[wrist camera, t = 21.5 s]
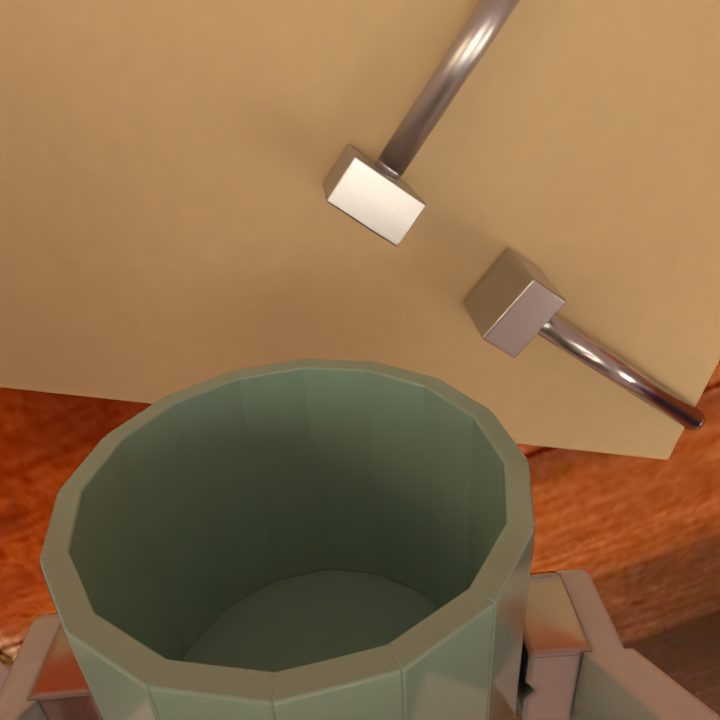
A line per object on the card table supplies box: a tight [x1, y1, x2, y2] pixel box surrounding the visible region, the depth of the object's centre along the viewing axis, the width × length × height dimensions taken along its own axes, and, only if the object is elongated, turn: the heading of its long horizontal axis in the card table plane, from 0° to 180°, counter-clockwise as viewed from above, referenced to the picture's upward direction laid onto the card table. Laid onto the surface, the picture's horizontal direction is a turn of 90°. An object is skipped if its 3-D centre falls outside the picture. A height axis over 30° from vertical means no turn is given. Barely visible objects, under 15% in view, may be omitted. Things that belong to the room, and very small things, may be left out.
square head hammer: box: [322, 0, 520, 247], centre depth 14 cm, size 2×2×9 cm
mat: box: [0, 0, 720, 460], centre depth 16 cm, size 24×18×1 cm
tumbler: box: [40, 359, 535, 720], centre depth 11 cm, size 6×6×9 cm
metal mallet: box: [463, 248, 705, 430], centre depth 19 cm, size 2×2×9 cm
